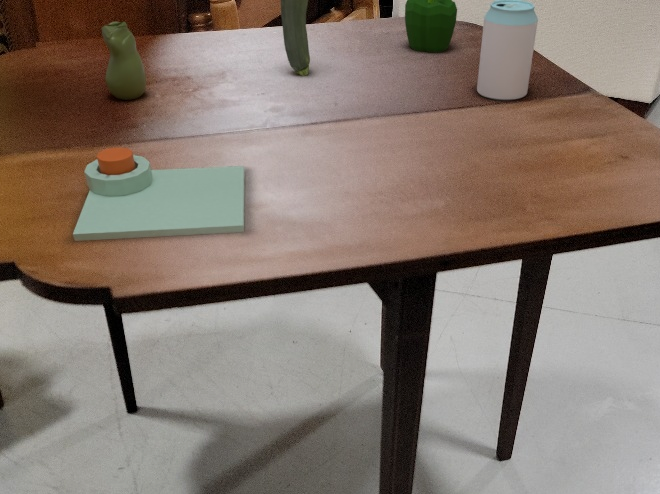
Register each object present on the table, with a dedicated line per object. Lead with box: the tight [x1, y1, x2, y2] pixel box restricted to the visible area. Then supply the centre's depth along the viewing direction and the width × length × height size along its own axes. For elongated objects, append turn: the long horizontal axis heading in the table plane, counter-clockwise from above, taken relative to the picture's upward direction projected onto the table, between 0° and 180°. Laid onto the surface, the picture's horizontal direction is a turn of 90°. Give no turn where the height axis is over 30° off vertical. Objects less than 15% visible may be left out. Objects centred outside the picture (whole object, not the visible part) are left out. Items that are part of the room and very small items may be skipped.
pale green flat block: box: [72, 154, 246, 242], centre depth 75 cm, size 16×14×3 cm
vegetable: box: [280, 0, 311, 77], centre depth 104 cm, size 4×4×20 cm
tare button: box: [96, 146, 136, 175], centre depth 76 cm, size 4×4×2 cm
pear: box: [100, 21, 147, 101], centre depth 99 cm, size 6×5×10 cm
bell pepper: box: [404, 0, 458, 54], centre depth 118 cm, size 8×8×10 cm
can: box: [476, 0, 539, 101], centre depth 100 cm, size 7×7×12 cm
